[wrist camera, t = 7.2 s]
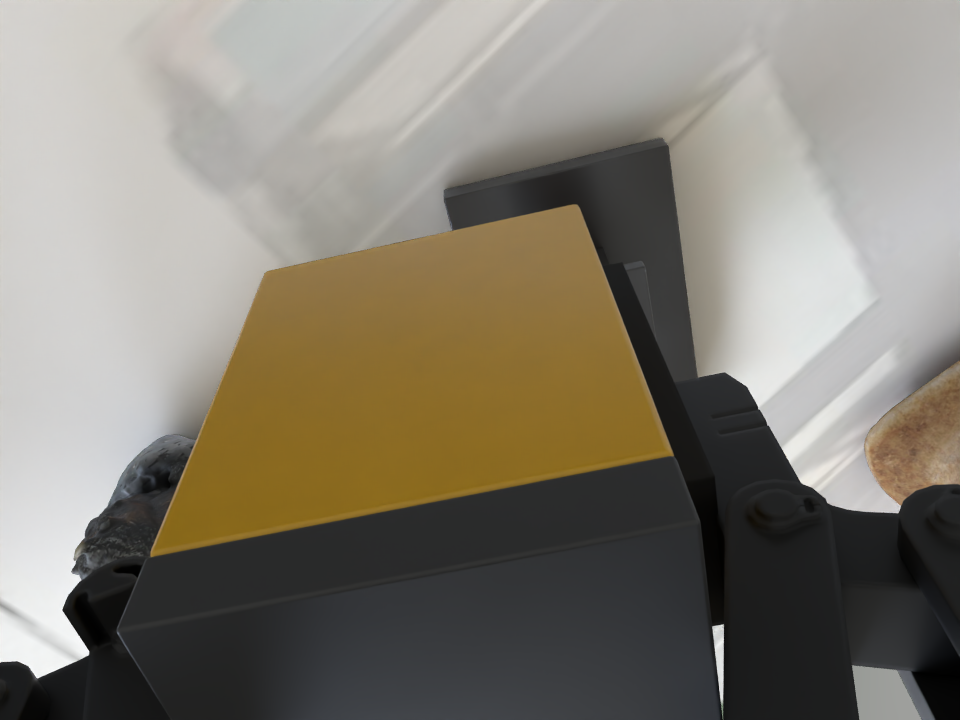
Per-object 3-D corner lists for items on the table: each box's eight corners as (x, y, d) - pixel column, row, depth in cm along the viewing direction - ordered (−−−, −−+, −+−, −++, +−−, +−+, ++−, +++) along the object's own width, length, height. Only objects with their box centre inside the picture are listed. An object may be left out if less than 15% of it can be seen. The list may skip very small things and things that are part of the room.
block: (367, 545, 18) (324, 968, 11) (263, 269, 15) (112, 631, 8) (627, 495, 18) (743, 903, 11) (578, 200, 15) (700, 521, 8)
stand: (509, 434, 46) (522, 552, 39) (443, 189, 39) (443, 274, 32) (695, 394, 46) (747, 506, 38) (662, 136, 38) (718, 210, 31)
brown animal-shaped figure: (324, 547, 50) (300, 695, 41) (221, 589, 51) (177, 741, 43) (202, 391, 44) (144, 524, 36) (89, 443, 46) (7, 583, 37)
